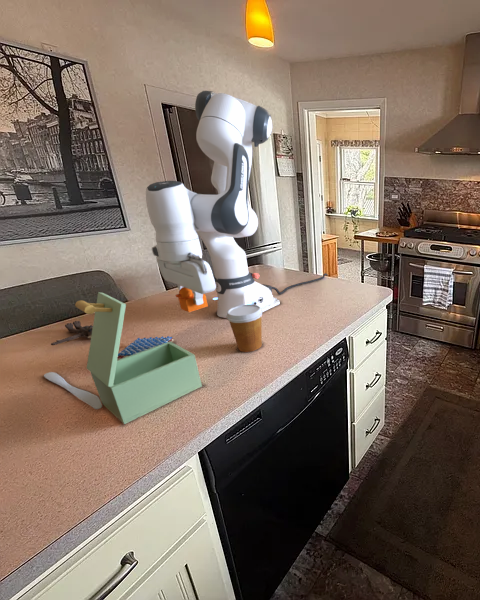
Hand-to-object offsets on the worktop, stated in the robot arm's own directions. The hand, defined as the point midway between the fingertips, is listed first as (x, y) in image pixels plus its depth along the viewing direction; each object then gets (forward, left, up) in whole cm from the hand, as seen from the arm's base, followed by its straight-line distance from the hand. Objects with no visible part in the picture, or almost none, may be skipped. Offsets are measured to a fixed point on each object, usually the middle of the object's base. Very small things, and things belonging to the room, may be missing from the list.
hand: (193, 301), depth 86 cm
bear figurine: (+14, -43, -17) cm, 48 cm away
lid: (+21, +8, 0) cm, 22 cm away
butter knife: (+26, -9, -16) cm, 32 cm away
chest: (+16, +8, -16) cm, 24 cm away
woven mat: (+8, -16, -17) cm, 24 cm away
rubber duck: (0, 0, -2) cm, 2 cm away
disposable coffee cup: (-10, +6, -17) cm, 20 cm away
